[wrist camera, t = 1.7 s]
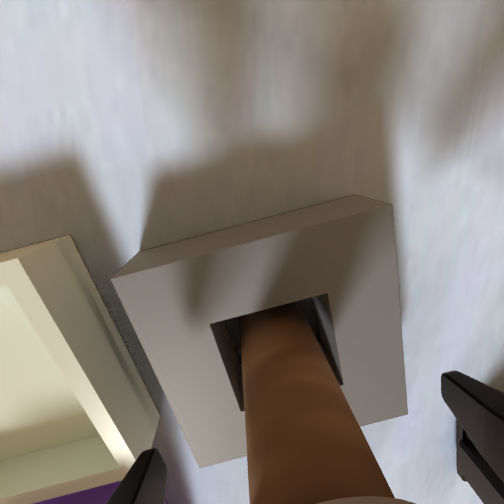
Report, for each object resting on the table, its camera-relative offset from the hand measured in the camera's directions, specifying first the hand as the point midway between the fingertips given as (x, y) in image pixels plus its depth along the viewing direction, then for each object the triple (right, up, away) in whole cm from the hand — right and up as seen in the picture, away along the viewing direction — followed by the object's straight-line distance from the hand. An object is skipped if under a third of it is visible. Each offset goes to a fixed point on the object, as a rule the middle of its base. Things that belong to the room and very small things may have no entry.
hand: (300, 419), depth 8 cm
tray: (-13, -1, +5) cm, 14 cm away
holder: (-1, +2, +5) cm, 6 cm away
